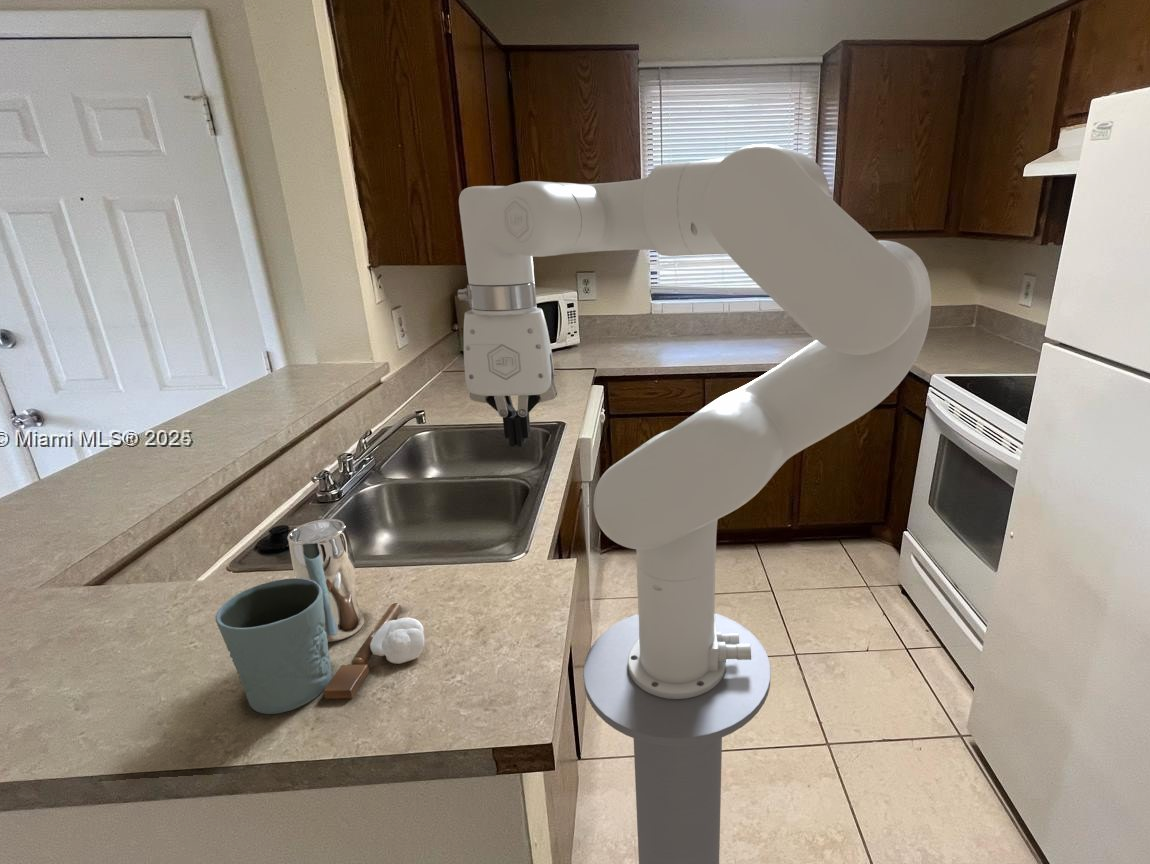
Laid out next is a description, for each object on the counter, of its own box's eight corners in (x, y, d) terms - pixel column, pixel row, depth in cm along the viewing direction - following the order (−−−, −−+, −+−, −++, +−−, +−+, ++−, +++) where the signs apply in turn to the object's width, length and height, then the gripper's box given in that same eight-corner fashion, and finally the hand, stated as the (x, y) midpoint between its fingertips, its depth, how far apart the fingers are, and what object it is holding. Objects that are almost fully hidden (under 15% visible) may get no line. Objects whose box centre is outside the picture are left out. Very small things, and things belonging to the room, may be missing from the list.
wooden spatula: (387, 610, 87) (385, 600, 86) (409, 610, 87) (407, 600, 86) (324, 699, 71) (322, 688, 70) (352, 698, 71) (349, 687, 70)
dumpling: (433, 639, 81) (432, 619, 79) (417, 672, 77) (416, 651, 75) (380, 631, 81) (378, 610, 79) (361, 664, 76) (358, 643, 74)
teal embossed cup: (223, 702, 71) (194, 615, 66) (304, 648, 79) (283, 569, 75) (281, 730, 67) (254, 639, 63) (360, 670, 75) (340, 587, 71)
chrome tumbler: (304, 628, 83) (278, 530, 78) (357, 606, 88) (336, 513, 83) (320, 651, 79) (294, 550, 74) (375, 627, 83) (355, 530, 78)
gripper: (429, 303, 69) (451, 455, 75) (561, 302, 69) (572, 453, 75) (451, 295, 76) (469, 434, 82) (571, 294, 76) (580, 433, 82)
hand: (518, 443), depth 79 cm, fingers closed
